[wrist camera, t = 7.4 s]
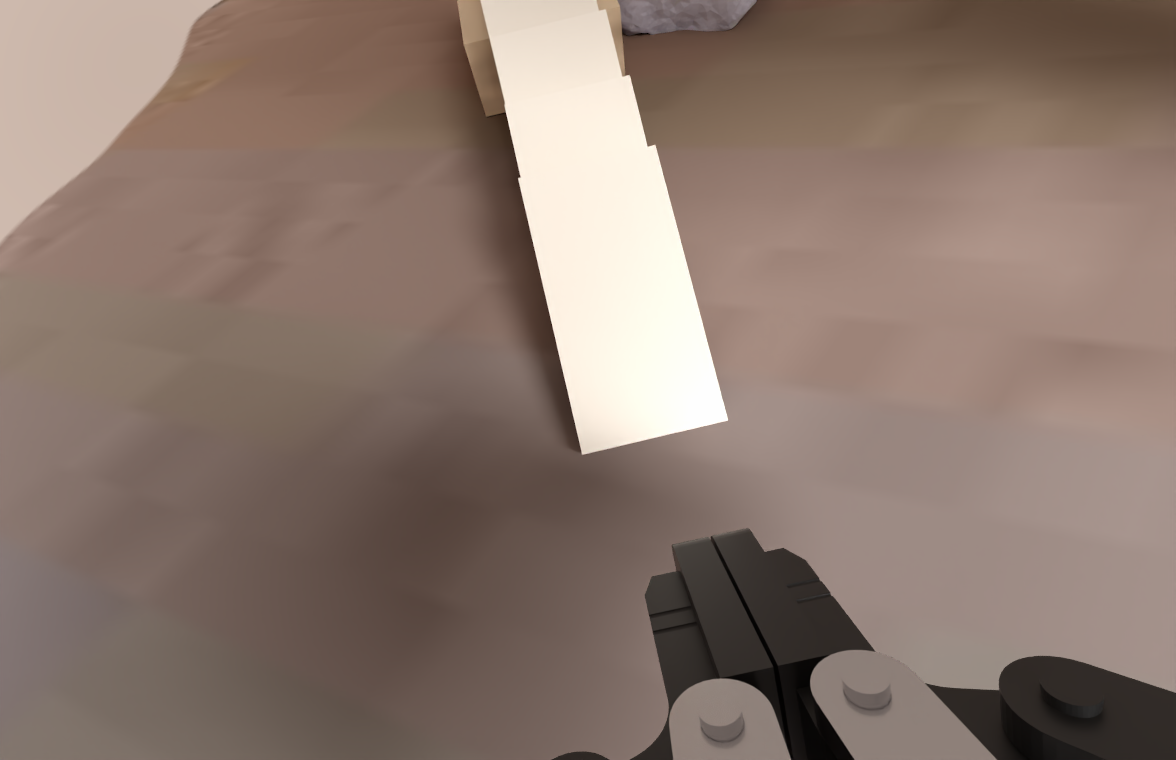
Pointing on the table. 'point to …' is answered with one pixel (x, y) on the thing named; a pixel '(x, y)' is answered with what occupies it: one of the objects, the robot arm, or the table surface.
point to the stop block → (484, 59)
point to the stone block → (681, 15)
